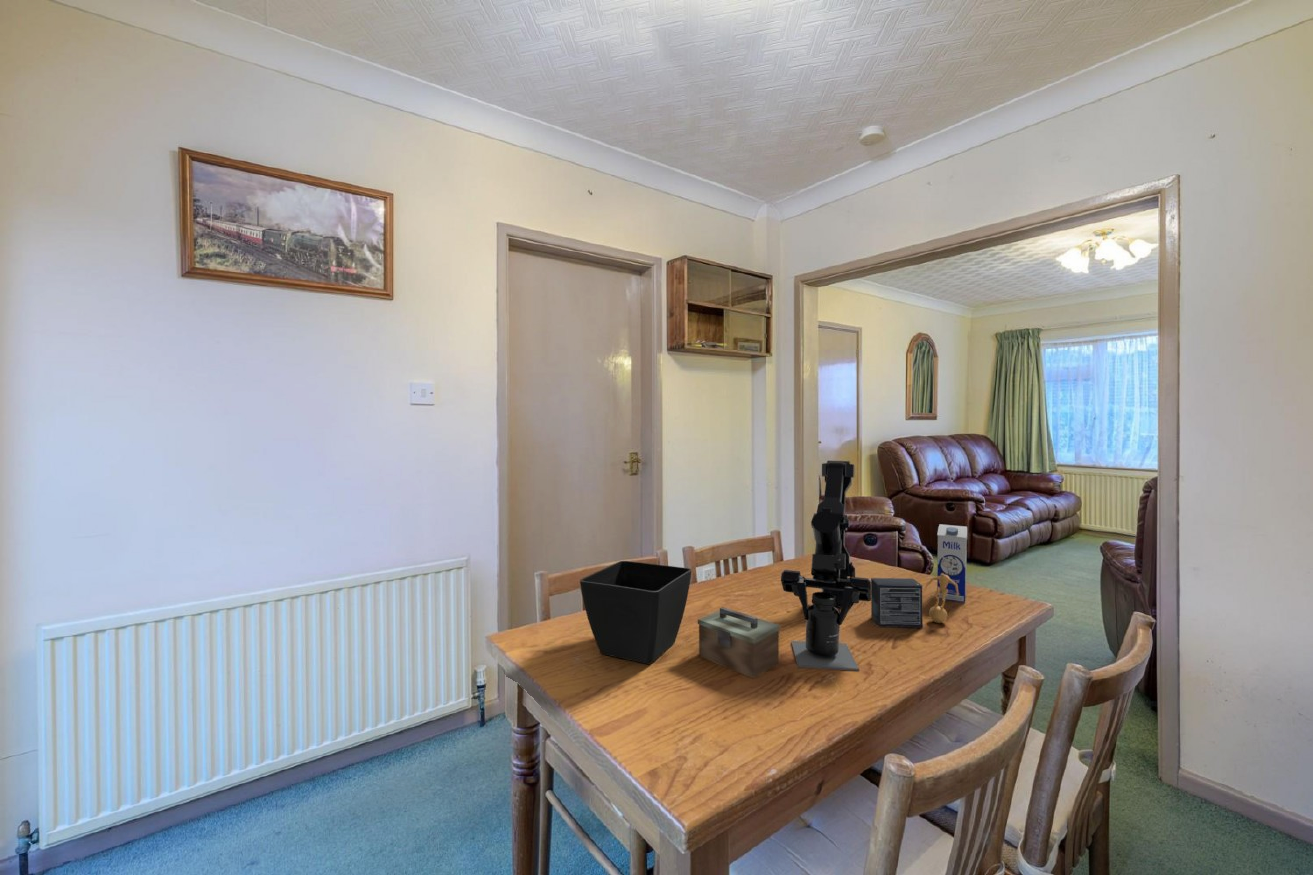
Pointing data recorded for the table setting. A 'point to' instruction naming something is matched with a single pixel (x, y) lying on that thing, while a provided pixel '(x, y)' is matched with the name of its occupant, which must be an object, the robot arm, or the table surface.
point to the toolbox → (739, 641)
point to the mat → (824, 658)
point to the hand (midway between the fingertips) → (822, 621)
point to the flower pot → (636, 608)
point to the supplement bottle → (822, 625)
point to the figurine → (937, 611)
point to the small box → (896, 602)
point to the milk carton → (952, 559)
